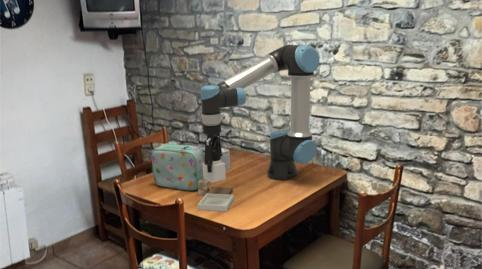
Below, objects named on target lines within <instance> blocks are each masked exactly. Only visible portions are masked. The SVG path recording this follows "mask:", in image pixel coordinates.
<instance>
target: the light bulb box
mask: <svg viewBox="0 0 482 269" xmlns="http://www.w3.org/2000/svg"><path fill="white" fill-rule="evenodd" d="M221 149H222V156H221V162H223V163H225V169H226V171H230V170H231V156H230V154H231V153H230V149H228V148H227V149H226V148H223V147H221Z"/></svg>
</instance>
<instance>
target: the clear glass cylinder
mask: <svg viewBox="0 0 482 269" xmlns="http://www.w3.org/2000/svg"><path fill="white" fill-rule="evenodd" d="M209 190H210V182H209V181H207V180H200V181H199V182H198V189H197V191H198V192H197V193H198V196H205V195H206V194H207V193H208V191H209Z"/></svg>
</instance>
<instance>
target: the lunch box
mask: <svg viewBox="0 0 482 269" xmlns="http://www.w3.org/2000/svg"><path fill="white" fill-rule="evenodd" d="M203 163H205V152H204V151H203V149H201V147H199V146H196V145H189V144H175V143H170V142H169V143H163V144H161V145H159V146H158V147H156V148H154V149H152V151H151V166H152V177H153V181H154V183H155V184H156V185H157V186H158V187H164V188H169V189H173V190H174V189H175V190H184V191H190V192H191V191H196V190H197V191H198V182H199V181H200V180H205V179H204V178H203Z"/></svg>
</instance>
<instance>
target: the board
mask: <svg viewBox="0 0 482 269" xmlns="http://www.w3.org/2000/svg"><path fill="white" fill-rule="evenodd" d="M208 193H209V194H229V195H233V193H234V187H231V186H230V187H226V186H225V187H223V186H211V187H210V188H209V191H208Z"/></svg>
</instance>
